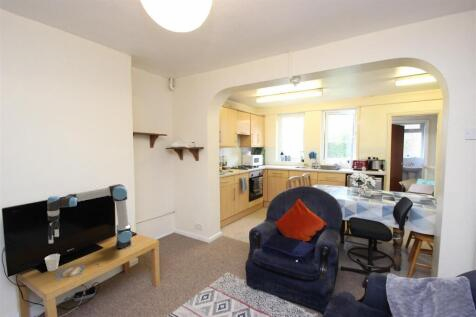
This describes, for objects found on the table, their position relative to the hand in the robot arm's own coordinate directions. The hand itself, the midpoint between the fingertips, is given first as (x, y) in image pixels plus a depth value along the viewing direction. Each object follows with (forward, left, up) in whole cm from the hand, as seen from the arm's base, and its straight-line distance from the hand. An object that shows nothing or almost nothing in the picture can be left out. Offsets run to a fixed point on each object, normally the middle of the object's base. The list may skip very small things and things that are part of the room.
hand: (53, 239), depth 187 cm
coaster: (-15, +16, -23) cm, 32 cm away
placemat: (-14, +15, -23) cm, 31 cm away
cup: (0, +5, -23) cm, 24 cm away
